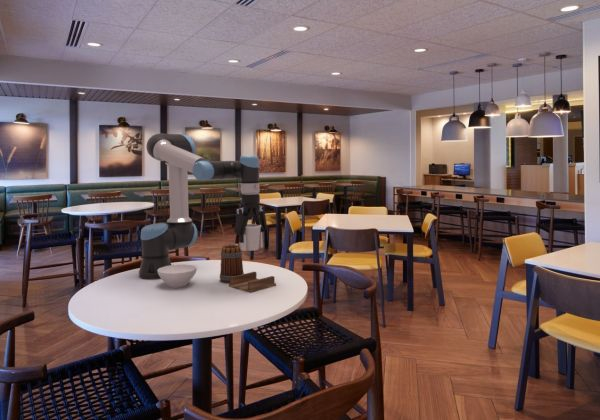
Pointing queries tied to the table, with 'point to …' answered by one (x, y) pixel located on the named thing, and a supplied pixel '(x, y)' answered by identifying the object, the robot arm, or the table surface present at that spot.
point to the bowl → (177, 274)
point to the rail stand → (251, 282)
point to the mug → (231, 262)
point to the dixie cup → (252, 236)
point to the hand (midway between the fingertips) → (251, 248)
